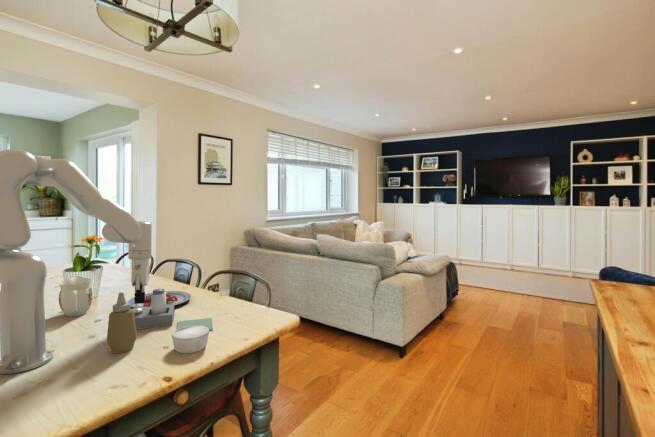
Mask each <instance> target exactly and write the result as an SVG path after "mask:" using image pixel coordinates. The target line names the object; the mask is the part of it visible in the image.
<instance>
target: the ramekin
mask: <svg viewBox="0 0 655 437" xmlns="http://www.w3.org/2000/svg"><path fill="white" fill-rule="evenodd" d="M209 335H210V331H209V328H208V327H206V326H201V325H193V326H186V327H182V328H179V329H177V328H176V329H175V330H173V331H172V333H171V338H172V344H173V348H174V350H175V351H176V352H177V353H180V354H193V353H197V352H200V351H202V350H203V349H204V348H205V347H206V346H207V344H208V340H209Z"/></svg>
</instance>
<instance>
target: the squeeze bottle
mask: <svg viewBox="0 0 655 437" xmlns="http://www.w3.org/2000/svg"><path fill="white" fill-rule="evenodd" d="M132 309H133V308H131V306H130V303H128V301H127V300H126V298H125V294H124V292H118V296H117V300H116V303H114V304H113V305H112V311H111V312H109V314H108V321H107V322H108V323H107V333H106V334H107V336H106V342H107V345H108V347H109V349H110V351H111V353H114V354H120V353H121V354H122V353H126V352H128V351H130V350H133V348H134V346H135V342H136V340H137V337H138V336H137V335H138V333H137V329H136V325H135V318H134V311H133V310H132Z"/></svg>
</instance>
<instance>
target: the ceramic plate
mask: <svg viewBox="0 0 655 437" xmlns="http://www.w3.org/2000/svg"><path fill="white" fill-rule="evenodd" d="M164 292H166V306H170V305H174V306H176V305H181V304H183V303H186V302H188V301H189V300H191V297H192V295H191V293H189V292H186V291H179V290H164ZM152 293H153V292H148V293H145V302H144V303H140V304H135V296H134V297H131V298H130V299H129V300H128V301H127V302H128V303H130V308H133V309H134V308H148V307H152V303H151V294H152Z"/></svg>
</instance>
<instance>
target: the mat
mask: <svg viewBox="0 0 655 437" xmlns="http://www.w3.org/2000/svg"><path fill="white" fill-rule="evenodd" d="M193 325H201V326H206V327H208V328H209V332H210V331H214V330H213V329H214V328H213V319H212V317H208V318H198V319H189V320H178V322H177V327H176V330H177V329H179V328H182V327H186V326H193Z"/></svg>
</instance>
